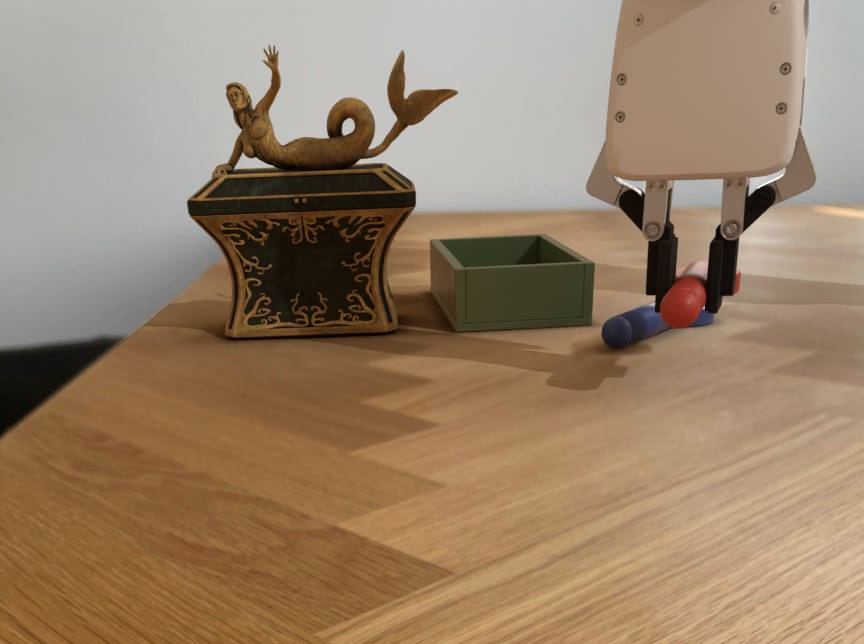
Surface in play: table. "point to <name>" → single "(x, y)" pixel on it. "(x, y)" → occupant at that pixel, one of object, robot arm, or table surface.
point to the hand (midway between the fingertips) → (688, 306)
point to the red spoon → (688, 295)
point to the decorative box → (311, 217)
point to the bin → (511, 282)
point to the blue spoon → (640, 325)
